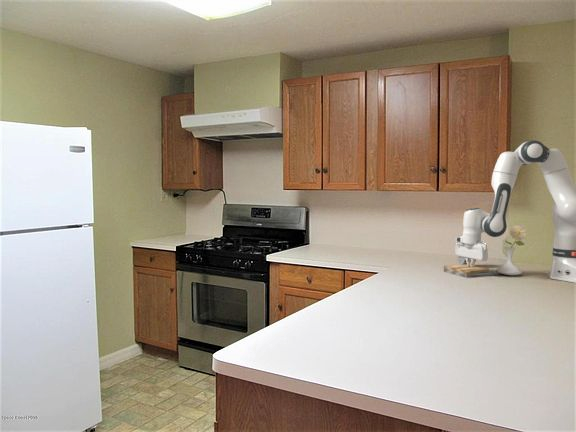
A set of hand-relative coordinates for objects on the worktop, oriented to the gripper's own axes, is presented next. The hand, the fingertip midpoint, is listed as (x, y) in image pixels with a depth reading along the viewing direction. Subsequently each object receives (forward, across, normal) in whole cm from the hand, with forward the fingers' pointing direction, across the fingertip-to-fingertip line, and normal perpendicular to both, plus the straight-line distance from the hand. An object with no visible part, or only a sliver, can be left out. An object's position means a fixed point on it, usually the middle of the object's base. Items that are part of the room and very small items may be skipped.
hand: (470, 266), depth 240 cm
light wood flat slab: (+1, 0, +2) cm, 2 cm away
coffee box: (+4, +17, -11) cm, 21 cm away
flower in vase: (+3, -10, -16) cm, 19 cm away
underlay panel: (+3, 0, 0) cm, 3 cm away
